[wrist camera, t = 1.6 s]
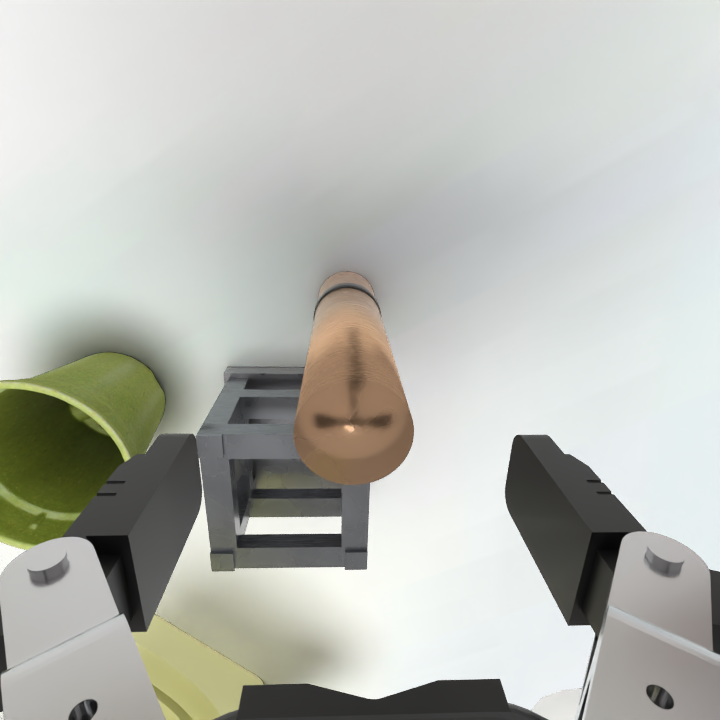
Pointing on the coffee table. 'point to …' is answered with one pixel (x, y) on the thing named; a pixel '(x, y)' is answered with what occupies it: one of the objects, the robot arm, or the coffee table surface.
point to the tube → (351, 389)
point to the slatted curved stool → (190, 674)
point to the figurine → (559, 705)
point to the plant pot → (69, 440)
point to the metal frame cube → (271, 480)
